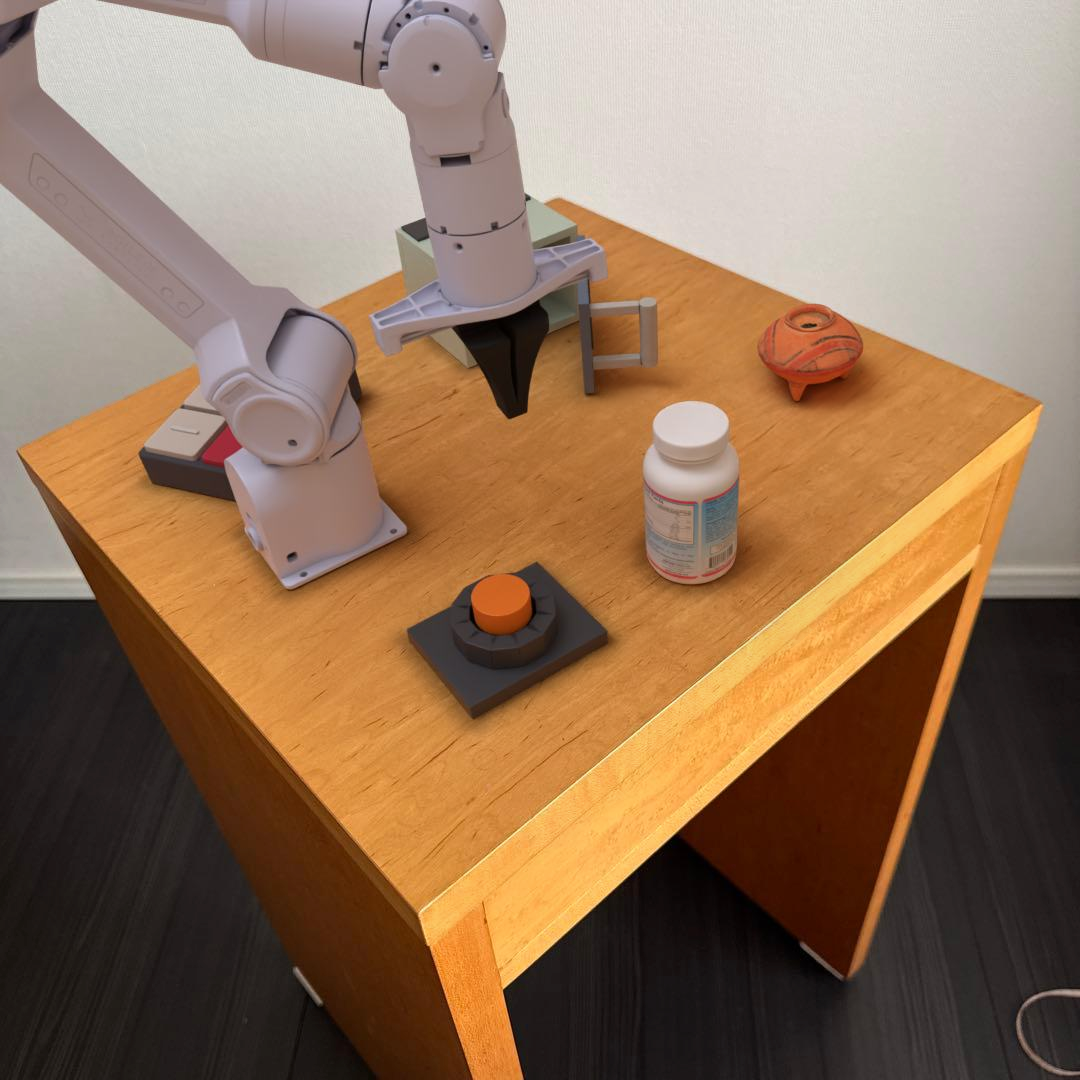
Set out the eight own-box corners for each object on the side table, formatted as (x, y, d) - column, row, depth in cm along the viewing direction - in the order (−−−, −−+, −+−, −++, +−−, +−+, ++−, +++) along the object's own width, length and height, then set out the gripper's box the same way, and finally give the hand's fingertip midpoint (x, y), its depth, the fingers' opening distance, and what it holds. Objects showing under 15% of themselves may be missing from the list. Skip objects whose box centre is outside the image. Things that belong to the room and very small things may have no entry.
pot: (856, 415, 85) (843, 339, 81) (757, 417, 89) (739, 345, 85) (877, 355, 90) (866, 281, 86) (782, 360, 94) (767, 289, 90)
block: (472, 720, 67) (466, 687, 65) (409, 641, 72) (401, 609, 70) (608, 643, 70) (606, 610, 68) (538, 573, 76) (534, 541, 74)
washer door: (659, 388, 90) (658, 298, 84) (584, 393, 90) (578, 304, 84) (649, 316, 98) (648, 229, 92) (581, 321, 98) (575, 235, 92)
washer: (468, 368, 95) (452, 269, 88) (411, 321, 101) (393, 225, 95) (584, 318, 99) (577, 220, 93) (522, 275, 106) (512, 181, 99)
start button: (494, 644, 68) (490, 624, 67) (463, 610, 70) (460, 590, 69) (543, 617, 69) (541, 597, 68) (512, 585, 71) (509, 565, 70)
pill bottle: (721, 519, 78) (726, 386, 71) (747, 579, 74) (755, 443, 66) (636, 534, 78) (631, 401, 70) (657, 595, 73) (654, 460, 66)
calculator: (131, 446, 84) (238, 332, 94) (151, 488, 87) (253, 373, 97) (254, 472, 81) (353, 350, 90) (270, 515, 84) (364, 393, 93)
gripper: (561, 151, 68) (585, 343, 77) (334, 225, 64) (387, 416, 73) (615, 192, 63) (634, 392, 72) (372, 274, 59) (424, 473, 68)
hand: (512, 408), depth 72 cm, fingers closed
